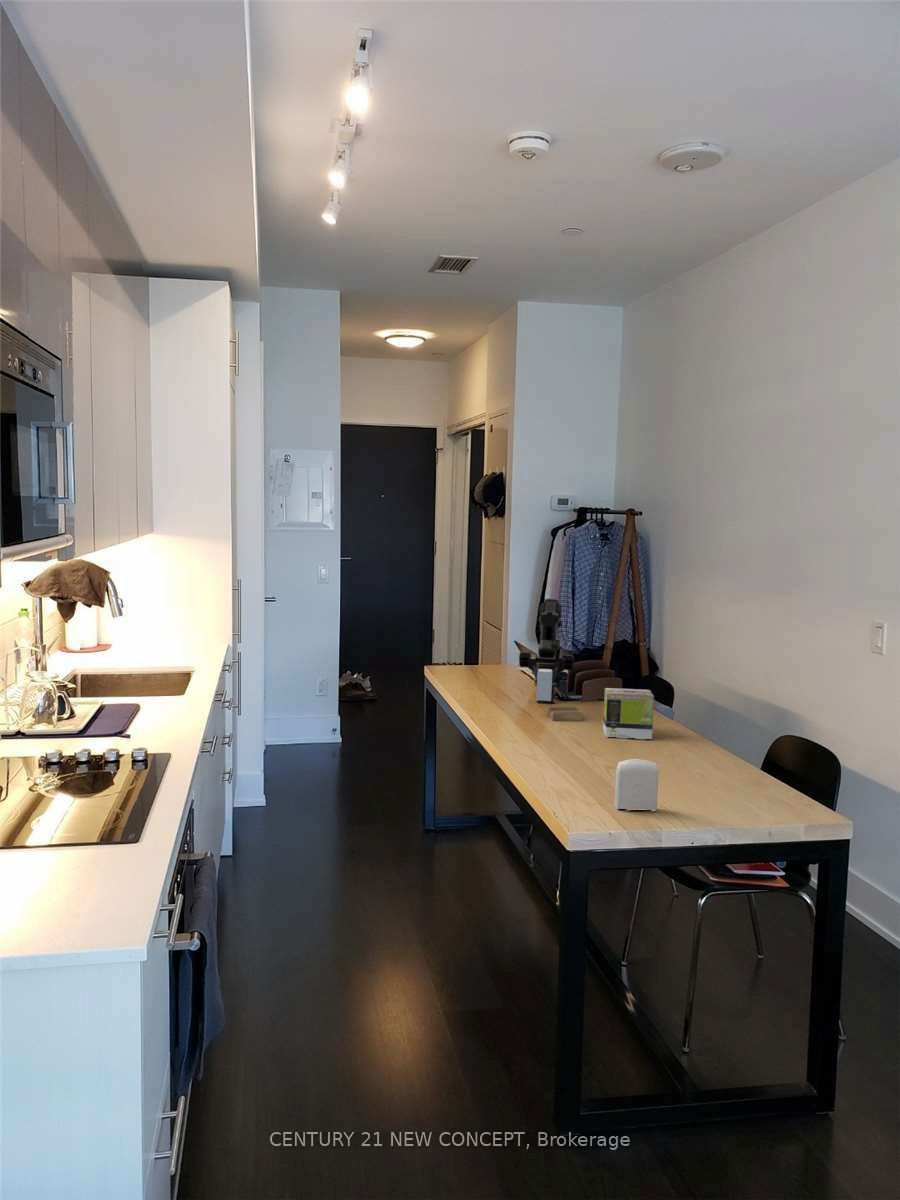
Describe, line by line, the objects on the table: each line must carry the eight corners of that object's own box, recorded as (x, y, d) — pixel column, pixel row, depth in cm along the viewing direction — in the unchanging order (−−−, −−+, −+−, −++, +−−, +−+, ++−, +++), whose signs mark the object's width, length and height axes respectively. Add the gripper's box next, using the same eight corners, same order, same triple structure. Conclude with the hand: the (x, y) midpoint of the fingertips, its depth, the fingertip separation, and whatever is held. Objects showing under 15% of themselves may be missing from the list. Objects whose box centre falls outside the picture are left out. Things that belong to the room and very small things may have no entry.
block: (546, 715, 313) (546, 705, 312) (573, 715, 314) (574, 706, 314) (552, 722, 303) (553, 712, 303) (581, 722, 304) (581, 712, 304)
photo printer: (615, 811, 215) (618, 761, 213) (612, 805, 219) (615, 756, 217) (658, 813, 214) (661, 763, 213) (654, 807, 218) (657, 758, 217)
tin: (536, 697, 307) (538, 668, 306) (551, 698, 306) (552, 669, 305) (536, 700, 303) (537, 670, 302) (550, 701, 302) (552, 671, 301)
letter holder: (565, 697, 343) (567, 661, 342) (604, 693, 353) (606, 658, 352) (582, 702, 335) (584, 666, 333) (621, 698, 345) (624, 662, 343)
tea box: (648, 733, 292) (651, 689, 290) (652, 741, 282) (655, 695, 280) (602, 730, 293) (604, 686, 292) (604, 738, 283) (607, 692, 282)
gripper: (520, 628, 307) (516, 666, 297) (575, 632, 304) (572, 670, 295) (521, 647, 316) (517, 684, 306) (574, 650, 313) (571, 688, 303)
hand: (544, 681), depth 302 cm, fingers closed on tin, 5 cm apart
